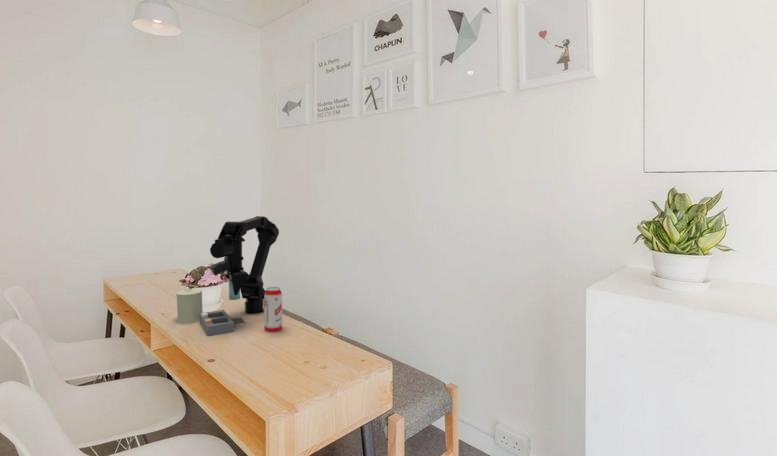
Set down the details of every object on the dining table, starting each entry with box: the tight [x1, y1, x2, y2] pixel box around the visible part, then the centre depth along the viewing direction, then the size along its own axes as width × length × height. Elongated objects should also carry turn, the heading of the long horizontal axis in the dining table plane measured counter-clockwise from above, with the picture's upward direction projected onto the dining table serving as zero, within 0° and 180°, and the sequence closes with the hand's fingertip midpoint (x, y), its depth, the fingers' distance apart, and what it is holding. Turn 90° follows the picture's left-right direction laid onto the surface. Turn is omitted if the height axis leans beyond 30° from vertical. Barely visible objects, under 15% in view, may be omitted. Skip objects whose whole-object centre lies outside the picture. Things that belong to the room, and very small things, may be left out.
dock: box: [198, 309, 235, 337], centre depth 151 cm, size 9×17×5 cm, turn 34°
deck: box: [231, 316, 246, 325], centre depth 158 cm, size 6×7×1 cm
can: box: [176, 288, 204, 324], centre depth 158 cm, size 9×9×12 cm
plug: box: [228, 280, 241, 301], centre depth 157 cm, size 4×4×8 cm
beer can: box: [264, 286, 283, 333], centre depth 150 cm, size 6×6×16 cm
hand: (234, 293), depth 157 cm, fingers closed on plug, 4 cm apart
